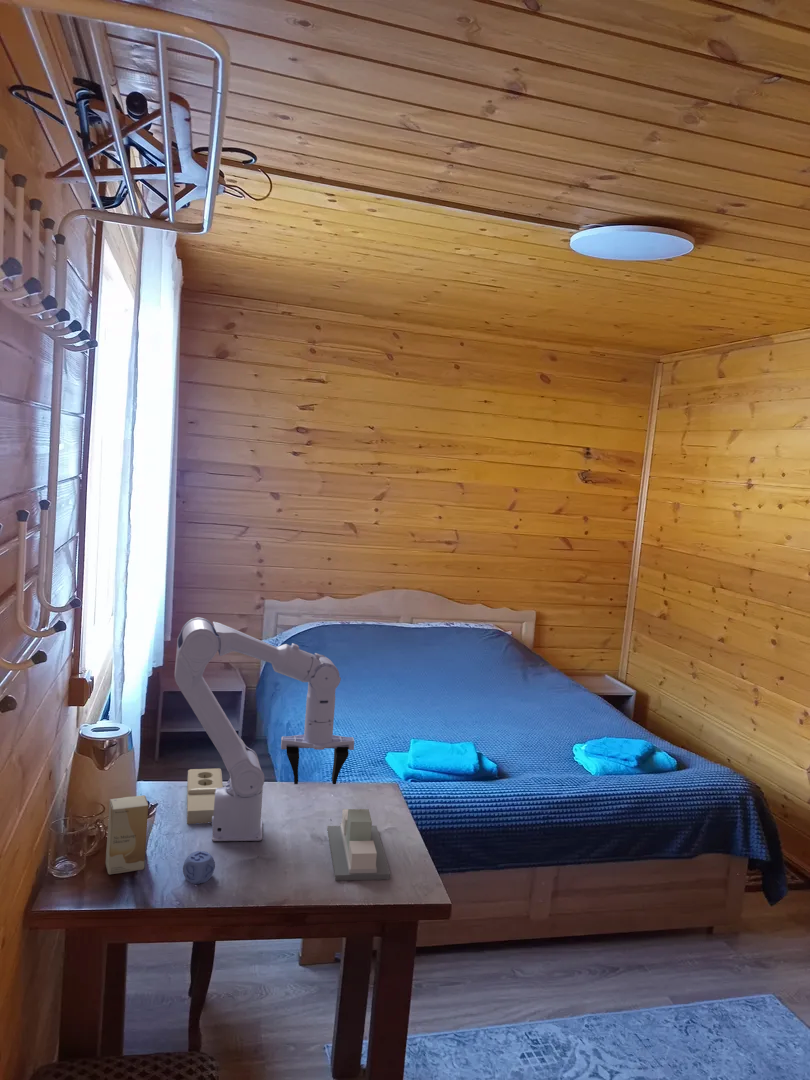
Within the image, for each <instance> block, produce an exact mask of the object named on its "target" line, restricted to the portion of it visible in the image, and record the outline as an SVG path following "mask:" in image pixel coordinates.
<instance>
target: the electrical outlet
mask: <svg viewBox="0 0 810 1080" xmlns="http://www.w3.org/2000/svg"><path fill="white" fill-rule="evenodd" d="M223 785H224V784H223V774H222V769H221V768H220V767H219V768H190V769H188V770H187V786H186V789H187V790H186V793H187V795H186V807H187V808H186V825H193V824H196V823H199V824H209V823H208V822H212V816H214V801H215V790H216V788H222V787H224V786H223Z"/></svg>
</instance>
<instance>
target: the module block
mask: <svg viewBox="0 0 810 1080" xmlns="http://www.w3.org/2000/svg"><path fill="white" fill-rule="evenodd" d="M370 813H371V812H370V810H369V808H363V809H362V808H361V809H359V808H355V809H354V808H353V809H351V808H350V809H349V808H348V818H347V831H346V841H347V847H348V852H349V841H370V840H371V827H372V826H373V825H372V824H373V820H372V818H371V817H372V816H371V814H370Z"/></svg>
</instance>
